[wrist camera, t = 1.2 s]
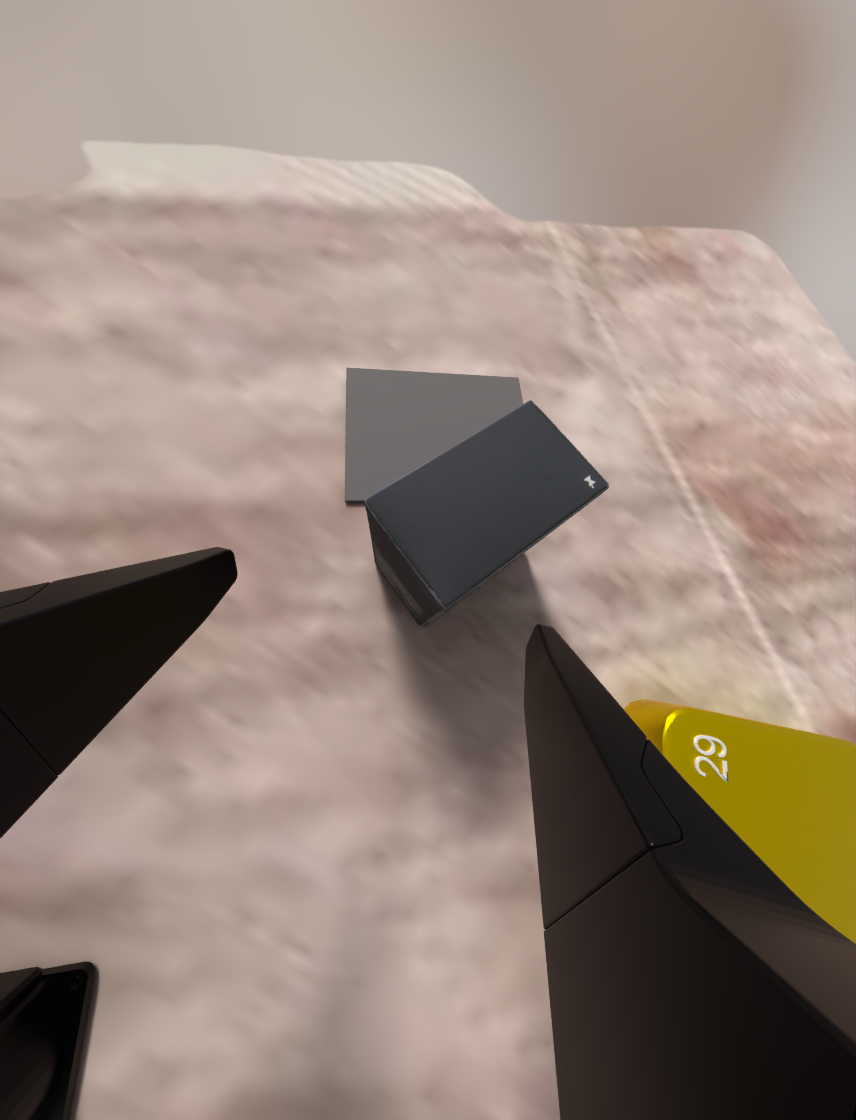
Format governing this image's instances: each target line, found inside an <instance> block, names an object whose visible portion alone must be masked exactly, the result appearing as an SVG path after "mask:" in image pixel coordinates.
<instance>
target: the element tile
mask: <svg viewBox="0 0 856 1120" xmlns="http://www.w3.org/2000/svg"><path fill="white" fill-rule="evenodd" d="M624 710H625V712H626V713H627V714H628V715H629V716H630V717H631V719H632V720H633V721H634V722H635V723H636V724H637V726H638V727H639V728H640V729H641V730H642V731H643V732H644V734H645V735H646V736H647V739H649V740H651V742H652V743H653V744H654V745H655V746H656V747H657V749H658V750H659V751H660V752H661V753H662V754H663V756H664V757H665V758H666V759H667V760H668V761H669V762H670V763H671V765H672V766H673V767H674V768H675V769H676V770H677V771H678V772H679V774H680V775H681V776H682V777H683V778H684V779H685V780H686V781H687V782H688V783H689V785H690V786H691V787H692V788H693V789H694V790H695V791H696V792H697V793H698V794H699V795H700V796H701V797H702V798H703V799H704V800H705V801H706V803H707V804H708V805H709V806H710V807H711V808H712V809H713V810H714V811H715V812H716V813H717V814H718V815H719V816H720V817H721V818H722V819H723V820H724V821H725V822H726V823H727V824H728V825H729V826H730V827H731V829H732V830H733V831H734V832H735V833H736V834H737V835H738V836H739V837H740V838H741V839H742V840H743V841H744V842H745V843H746V844H747V845H748V846H749V847H750V848H751V849H752V850H753V851H754V852H755V853H756V854H757V855H758V856H759V857H760V858H761V859H762V861H763V862H764V863H765V864H766V865H767V866H768V867H769V868H770V869H771V870H772V871H773V872H774V873H775V874H776V875H777V876H778V877H779V878H780V879H781V880H782V881H783V882H784V883H785V884H786V885H787V886H788V887H789V888H790V889H791V890H792V891H793V892H794V893H795V894H796V895H797V896H798V897H799V898H800V899H801V900H802V901H803V902H804V903H805V904H806V905H807V906H809V907H810V908H811V909H812V910H813V911H814V912H815V913H816V914H818V915H819V916H820V917H821V918H822V919H824V920H825V921H826V922H827V923H829V924H830V925H831V926H832V927H834V928H835V929H836V930H837V931H839V932H840V933H842V934H843V935H844V936H846V937H847V938H849V939H850V940H851V941H853V942H854V943H856V745H855V744H853V743H851V742H848V741H846V740H843V739H839V738H834V737H830V736H825V735H820V734H816V733H811V732H806V731H801V730H797V729H792V728H787V727H783V726H778V725H773V724H768V723H764V722H759V721H754V720H749V719H745V718H740V717H735V716H731V715H726V714H721V713H716V712H712V711H707V710H702V709H698V708H693V707H688V706H682V705H676V704H669V703H663V702H657V701H651V700H638V701H634V702H631V703H630V704H629V705H628V706H627V707H626V708H625V709H624Z"/></svg>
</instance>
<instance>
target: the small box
mask: <svg viewBox="0 0 856 1120" xmlns="http://www.w3.org/2000/svg"><path fill="white" fill-rule="evenodd" d="M608 487H609V483H608V482H607V481H606V480H605V479H604V478H603V477H602V476H601V475H600V474H599V472H598V471H597V470H596V469H595V468H594V467H593V466H592V465H591V464H590V463H589V462H588V460H587V459H586V458H585V457H584V456H583V455H582V454H581V453H580V452H579V451H578V450H577V449H576V448H575V446H574V445H573V444H572V443H571V442H570V441H569V440H568V439H567V438H566V436H565V435H564V434H563V433H562V432H561V431H560V430H559V429H558V428H557V427H556V425H555V424H554V423H553V422H552V421H551V420H550V419H549V418H548V417H547V416H546V415H545V414H544V413H543V412H542V410H541V409H540V408H539V407H538V406H537V405H536V404H535V403H534V402H533V401H528V402H526V403H525V404H523V405H521V406H520V407H518V408H516V409H515V410H513V411H511V412H510V413H508V414H506V415H505V416H503V417H501V418H500V419H498V420H497V421H495V422H493V423H492V424H490V425H488V426H487V427H485V428H483V429H482V430H480V431H478V432H477V433H475V434H473V435H472V436H470V437H468V438H467V439H465V440H463V441H462V442H460V443H459V444H457V445H455V446H454V447H452V448H450V449H449V450H447V451H445V452H443V453H442V454H440V455H438V456H437V457H435V458H433V459H432V460H430V461H428V462H427V463H425V464H423V465H422V466H420V467H418V468H417V469H415V470H413V471H412V472H410V473H408V474H407V475H405V476H403V477H401V478H400V479H398V480H396V481H395V482H393V483H391V484H389V485H388V486H386V487H385V488H383V489H381V490H379V491H378V492H376V493H374V494H373V495H371V496H369V497H368V498H366V499H365V506H366V511H367V516H368V522H369V528H370V533H371V539H372V546H373V552H374V558H375V563H376V565H377V567H378V568H379V569H380V571H381V572H382V574H383V575H384V577H385V578H386V580H387V581H388V582H389V584H390V585H391V586H392V588H393V589H394V591H395V592H396V593H397V595H398V596H399V598H400V599H401V601H402V602H403V603H404V605H405V606H406V607H407V609H408V610H409V612H410V613H411V614H412V616H413V617H414V619H415V620H416V621H417V623H418V624H419V625H420V626H422V627H424V626H426V625H427V624H428V623H430V622H431V621H432V620H434V619H435V618H437V617H438V616H439V615H441V614H442V613H443V612H445V611H447V610H448V609H450V608H451V607H452V606H454V605H455V604H456V603H458V602H459V601H460V600H462V599H463V598H464V597H466V596H467V595H468V594H470V593H471V592H472V591H474V590H475V589H476V588H478V587H479V586H481V585H482V584H483V583H485V582H486V581H487V580H489V579H490V578H491V577H493V576H494V575H495V574H496V573H498V572H499V571H500V570H502V569H503V568H505V567H506V566H507V565H509V564H510V563H511V562H513V561H514V560H515V559H517V558H518V557H519V556H520V555H522V554H523V553H524V552H526V551H527V550H528V549H530V548H531V547H532V546H534V545H535V544H536V543H538V542H539V541H540V540H542V539H543V538H544V537H546V536H547V535H548V534H550V533H551V532H552V531H553V530H555V529H556V528H557V527H559V526H560V525H561V524H563V523H564V522H565V521H566V520H568V519H569V518H570V517H572V516H573V515H575V514H576V513H577V512H578V511H580V510H581V509H582V508H584V507H585V506H586V505H588V504H589V503H590V502H591V501H593V500H594V499H595V498H597V497H598V496H599V495H601V494H602V493H603V492H604V491H606V490H607V489H608Z"/></svg>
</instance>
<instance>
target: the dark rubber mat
mask: <svg viewBox="0 0 856 1120" xmlns="http://www.w3.org/2000/svg"><path fill="white" fill-rule="evenodd" d="M521 405H523V401H522V396H521V390H520V385H519V379H518V378H514V377H497V376H480V375H463V374H445V373H428V372H411V371H394V370H377V369H360V368H347V378H346V462H345V502H365V499H366V498H368V497H369V496H371V495H373V494H374V493H376V492H378V491H379V490H381V489H383V488H385V487H386V486H388V485H389V484H391V483H393V482H395V481H396V480H398V479H400V478H401V477H403V476H405V475H407V474H408V473H410V472H412V471H413V470H415V469H417V468H418V467H420V466H422V465H423V464H425V463H427V462H428V461H430V460H432V459H433V458H435V457H437V456H438V455H440V454H442V453H443V452H445V451H447V450H449V449H450V448H452V447H454V446H455V445H457V444H459V443H460V442H462V441H463V440H465V439H467V438H468V437H470V436H472V435H473V434H475V433H477V432H478V431H480V430H482V429H483V428H485V427H487V426H488V425H490V424H492V423H493V422H495V421H497V420H498V419H500V418H501V417H503V416H505V415H506V414H508V413H510V412H511V411H513V410H515V409H516V408H518V407H520V406H521Z"/></svg>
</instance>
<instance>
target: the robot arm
mask: <svg viewBox="0 0 856 1120" xmlns="http://www.w3.org/2000/svg"><path fill="white" fill-rule="evenodd" d="M236 579H237V567H236V562H235V556H234V553H233V552H232V551H231V550H229V549H225V548H221V547H214V548H209V549H205V550H200V551H195V552H190V553H186V554H181V555H176V556H171V557H167V558H162V559H157V560H152V561H148V562H143V563H138V564H133V565H128V566H124V567H119V568H114V569H109V570H105V571H100V572H95V573H90V574H86V575H81V576H76V577H71V578H67V579H62V580H57V581H53V582H52V583H50V582H47V583H42V584H38V585H33V586H28V587H23V588H18V589H13V590H8V591H3V592H0V838H1V837H2V836H3V835H4V834H5V833H6V832H7V831H8V830H9V829H10V828H11V827H12V826H13V825H14V824H15V822H16V821H17V820H18V819H19V818H20V817H21V816H22V815H23V814H24V813H25V812H26V811H27V810H28V809H29V808H30V807H31V805H32V804H33V803H34V802H35V801H36V800H37V799H38V798H39V797H40V796H41V795H42V794H43V793H44V792H45V791H46V789H47V788H48V787H49V786H50V785H51V784H52V783H53V782H54V781H55V780H56V779H57V778H58V775H60V774H61V773H62V772H63V771H64V770H65V769H66V768H67V767H68V766H69V765H70V764H71V762H72V761H73V760H74V759H75V758H76V757H77V756H78V755H79V754H80V753H81V752H82V751H83V750H84V749H85V748H86V747H87V745H88V744H89V743H90V742H91V741H92V740H93V739H94V738H95V737H96V736H97V735H98V734H99V733H100V732H101V731H102V730H103V728H104V727H105V726H106V725H107V724H108V723H109V722H110V721H111V720H112V719H113V718H114V717H115V716H116V715H117V714H118V713H119V711H120V710H121V709H122V708H123V707H124V706H125V705H126V704H127V703H128V702H129V701H130V700H131V699H132V698H133V697H134V696H135V694H136V693H137V692H138V691H139V690H140V689H141V688H142V687H143V686H144V685H145V684H146V683H147V682H148V681H149V680H150V678H151V677H152V676H153V675H154V674H155V673H156V672H157V671H158V670H159V669H160V668H161V667H162V666H163V665H164V664H165V663H166V661H167V660H168V659H169V658H170V657H171V656H172V655H173V654H174V653H175V652H176V651H177V650H178V649H179V648H180V647H181V646H182V644H183V643H184V642H185V641H186V640H187V639H188V638H189V637H190V636H191V635H192V634H193V633H194V632H195V631H196V630H197V629H198V627H199V626H200V625H201V624H202V623H203V622H204V621H205V620H206V618H207V617H208V616H209V615H210V613H211V612H212V611H213V609H214V608H215V607H216V606H217V604H218V603H219V602H220V600H221V599H222V598H223V596H224V595H225V594H226V593H227V591H228V590H229V589H230V587H231V586H232V585H233V583H234V582H235V581H236ZM524 710H525V722H526V734H527V745H528V756H529V767H530V779H531V790H532V801H533V813H534V824H535V835H536V847H537V858H538V869H539V880H540V892H541V903H542V914H543V926H544V929H545V931H544V939H545V951H546V962H547V973H548V985H549V996H550V1007H551V1019H552V1030H553V1041H554V1053H555V1064H556V1076H557V1087H558V1098H559V1110H560V1120H856V943H854V942H853V941H851V940H850V939H849V938H847V937H846V936H844V935H843V934H842V933H840V932H839V931H837V930H836V929H835V928H834V927H832V926H831V925H830V924H829V923H827V922H826V921H825V920H824V919H822V918H821V917H820V916H819V915H818V914H816V913H815V912H814V911H813V910H812V909H811V908H810V907H809V906H807V905H806V904H805V903H804V902H803V901H802V900H801V899H800V898H799V897H798V896H797V895H796V894H795V893H794V892H793V891H792V890H791V889H790V888H789V887H788V886H787V885H786V884H785V883H784V882H783V881H782V880H781V879H780V878H779V877H778V876H777V875H776V874H775V873H774V872H773V871H772V870H771V869H770V868H769V867H768V866H767V865H766V864H765V863H764V862H763V861H762V859H761V858H760V857H759V856H758V855H757V854H756V853H755V852H754V851H753V850H752V849H751V848H750V847H749V846H748V845H747V844H746V843H745V842H744V841H743V840H742V839H741V838H740V837H739V836H738V835H737V834H736V833H735V832H734V831H733V830H732V829H731V827H730V826H729V825H728V824H727V823H726V822H725V821H724V820H723V819H722V818H721V817H720V816H719V815H718V814H717V813H716V812H715V811H714V810H713V809H712V808H711V807H710V806H709V805H708V804H707V803H706V801H705V800H704V799H703V798H702V797H701V796H700V795H699V794H698V793H697V792H696V791H695V790H694V789H693V788H692V787H691V786H690V785H689V783H688V782H687V781H686V780H685V779H684V778H683V777H682V776H681V775H680V774H679V772H678V771H677V770H676V769H675V768H674V767H673V766H672V765H671V763H670V762H669V761H668V760H667V759H666V758H665V757H664V756H663V754H662V753H661V752H660V751H659V750H658V749H657V747H656V746H655V745H654V744H653V743H652V742H651V740H649V739H647V736H646V735H645V734H644V732H643V731H642V730H641V729H640V728H639V727H638V726H637V724H636V723H635V722H634V721H633V720H632V719H631V717H630V716H629V715H628V714H627V713H626V712H625V710H624V709H623V708H622V707H621V706H620V705H619V703H618V702H617V701H616V700H615V699H614V698H613V696H612V695H611V694H610V693H609V692H608V691H607V690H606V688H605V687H604V686H603V685H602V684H601V683H600V681H599V680H598V679H597V678H596V677H595V676H594V674H593V673H592V672H591V671H590V670H589V669H588V667H587V666H586V665H585V664H584V663H583V662H582V660H581V659H580V658H579V657H578V656H577V655H576V654H575V652H574V651H573V650H572V649H571V648H570V647H569V645H568V644H567V643H566V642H565V641H564V640H563V638H562V637H561V636H560V635H559V634H558V633H557V631H556V630H555V629H554V628H553V627H550V626H546V625H542V624H538V625H536V627H535V628H534V631H533V633H532V635H531V637H530V640H529V642H528V644H527V648H526V656H525V687H524ZM94 974H95V967H94V965H93V964H92V963H91V962H80V963H75V964H69V965H63V966H57V967H52V968H46V969H43V968H40V967H33V968H27V969H22V970H16V971H10V972H4V973H0V1120H69V1116H70V1110H71V1105H72V1099H73V1093H74V1088H75V1082H76V1076H77V1071H78V1065H79V1059H80V1054H81V1048H82V1042H83V1037H84V1031H85V1025H86V1020H87V1014H88V1008H89V1003H90V997H91V991H92V986H93V980H94ZM77 976H80V977H81V978H82V982H79V981H78V980H77Z"/></svg>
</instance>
